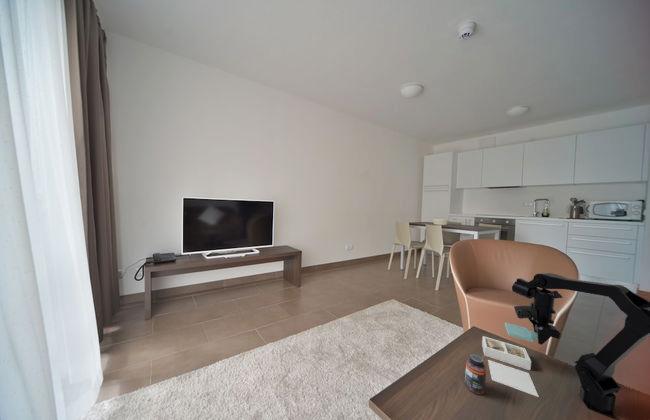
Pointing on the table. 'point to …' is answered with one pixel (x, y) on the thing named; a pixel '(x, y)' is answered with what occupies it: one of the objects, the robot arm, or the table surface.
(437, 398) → the table surface
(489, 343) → the cube
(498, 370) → the mat
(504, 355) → the tub
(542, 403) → the table surface
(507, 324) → the lid
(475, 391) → the supplement bottle
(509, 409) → the table surface
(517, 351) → the cube
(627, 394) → the table surface
